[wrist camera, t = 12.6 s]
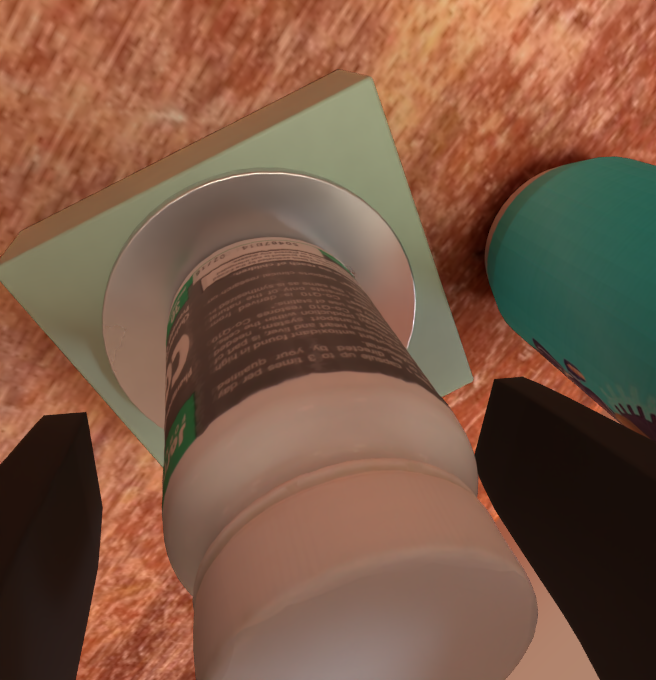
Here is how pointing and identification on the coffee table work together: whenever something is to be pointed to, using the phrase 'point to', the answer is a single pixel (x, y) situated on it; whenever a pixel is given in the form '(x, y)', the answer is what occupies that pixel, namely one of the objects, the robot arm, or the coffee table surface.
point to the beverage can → (585, 279)
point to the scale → (228, 228)
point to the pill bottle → (323, 487)
